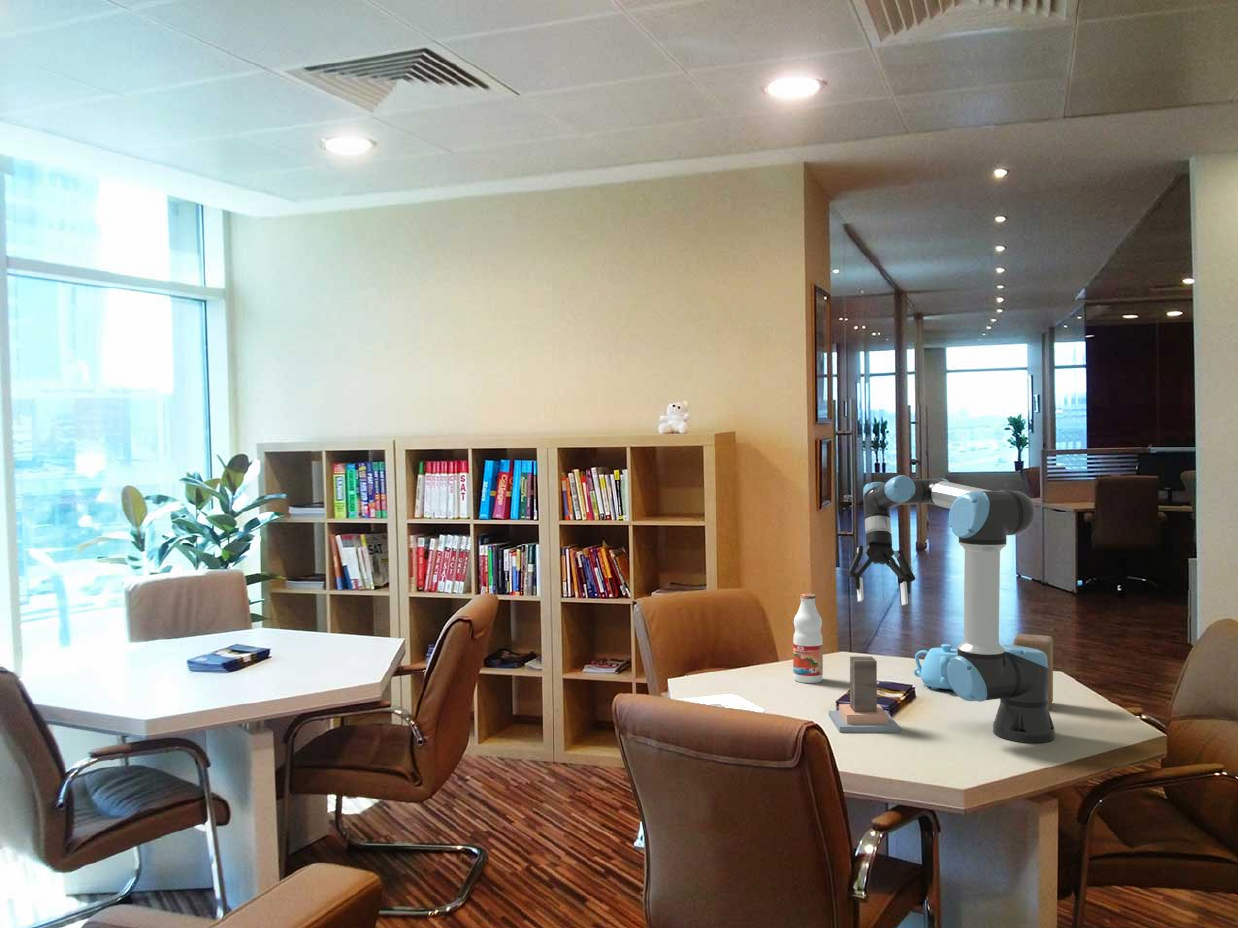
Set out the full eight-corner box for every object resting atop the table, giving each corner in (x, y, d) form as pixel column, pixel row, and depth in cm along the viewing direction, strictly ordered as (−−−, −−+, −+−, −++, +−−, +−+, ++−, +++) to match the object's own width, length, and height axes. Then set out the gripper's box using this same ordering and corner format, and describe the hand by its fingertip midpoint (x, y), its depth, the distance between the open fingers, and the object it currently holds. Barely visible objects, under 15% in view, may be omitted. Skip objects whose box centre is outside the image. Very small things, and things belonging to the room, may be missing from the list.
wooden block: (1013, 707, 290) (1013, 638, 289) (1016, 698, 299) (1016, 632, 298) (1050, 711, 285) (1050, 641, 285) (1053, 702, 294) (1053, 635, 294)
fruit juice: (828, 680, 324) (828, 594, 323) (811, 685, 317) (810, 597, 317) (805, 675, 331) (804, 591, 330) (787, 680, 324) (787, 594, 324)
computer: (666, 709, 292) (666, 700, 292) (733, 702, 299) (733, 693, 299) (697, 729, 271) (697, 719, 271) (769, 721, 279) (769, 711, 279)
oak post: (850, 706, 277) (849, 656, 277) (871, 706, 277) (871, 656, 277) (854, 712, 271) (854, 661, 271) (876, 712, 271) (876, 661, 271)
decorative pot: (955, 680, 323) (955, 638, 323) (984, 691, 307) (984, 648, 307) (910, 683, 319) (909, 641, 319) (937, 695, 304) (937, 651, 303)
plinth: (828, 715, 282) (828, 701, 282) (885, 715, 282) (885, 701, 282) (839, 732, 266) (839, 717, 266) (899, 732, 266) (899, 717, 266)
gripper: (912, 540, 303) (917, 608, 295) (834, 533, 300) (837, 602, 292) (923, 533, 297) (929, 602, 289) (843, 525, 293) (847, 595, 285)
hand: (882, 602), depth 290 cm, fingers open, 13 cm apart
